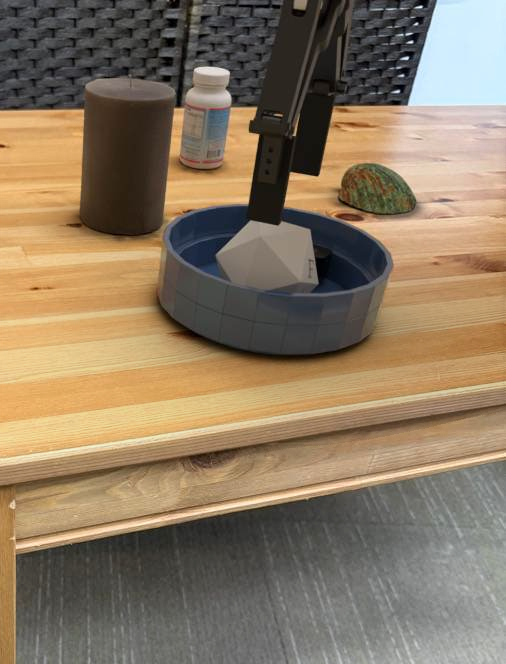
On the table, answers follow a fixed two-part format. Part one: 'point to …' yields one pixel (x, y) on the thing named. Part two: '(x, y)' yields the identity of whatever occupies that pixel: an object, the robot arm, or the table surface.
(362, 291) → the bowl
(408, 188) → the seashell
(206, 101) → the pill bottle
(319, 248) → the wireless earbuds
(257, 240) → the die
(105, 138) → the pillar candle
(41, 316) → the table surface
